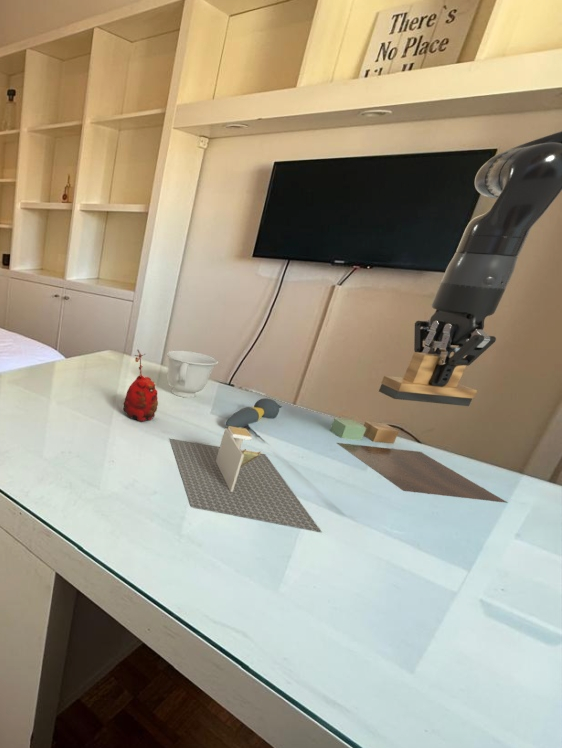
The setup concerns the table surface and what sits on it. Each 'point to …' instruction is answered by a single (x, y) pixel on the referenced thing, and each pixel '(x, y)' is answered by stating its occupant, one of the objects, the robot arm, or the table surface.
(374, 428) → the wooden cube
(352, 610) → the table surface
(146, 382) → the red clay folk toy
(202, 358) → the teacup
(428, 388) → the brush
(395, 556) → the table surface
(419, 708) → the table surface
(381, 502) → the table surface
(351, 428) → the sage cube
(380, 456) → the brown flat mat
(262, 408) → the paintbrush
